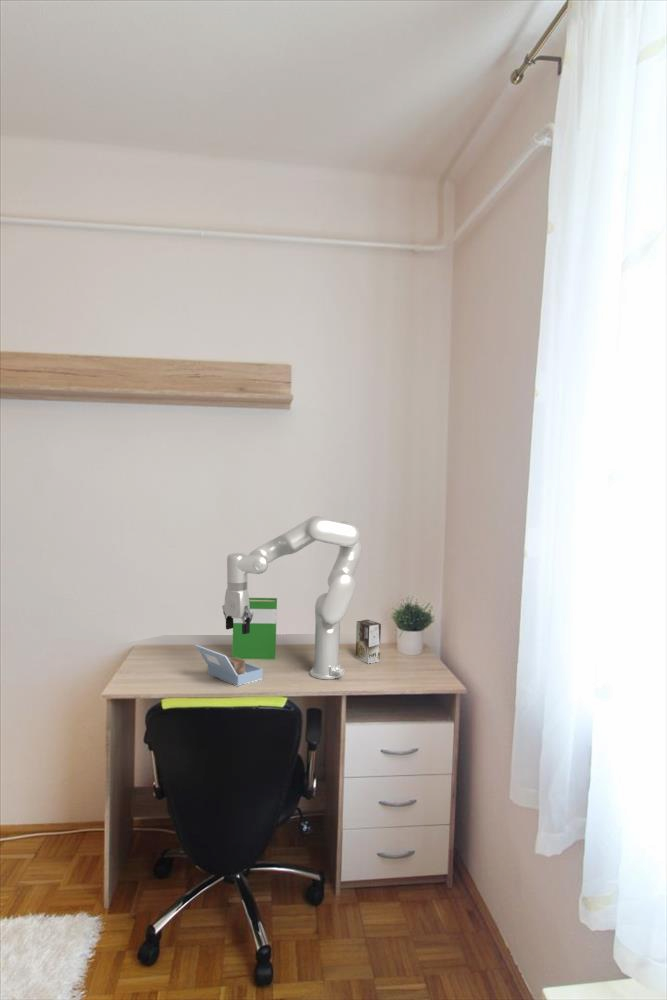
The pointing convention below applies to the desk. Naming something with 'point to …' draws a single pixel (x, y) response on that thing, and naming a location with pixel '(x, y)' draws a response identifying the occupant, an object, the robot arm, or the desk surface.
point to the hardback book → (257, 631)
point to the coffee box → (368, 641)
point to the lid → (216, 660)
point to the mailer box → (249, 676)
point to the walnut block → (238, 665)
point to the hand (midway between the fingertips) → (237, 631)
